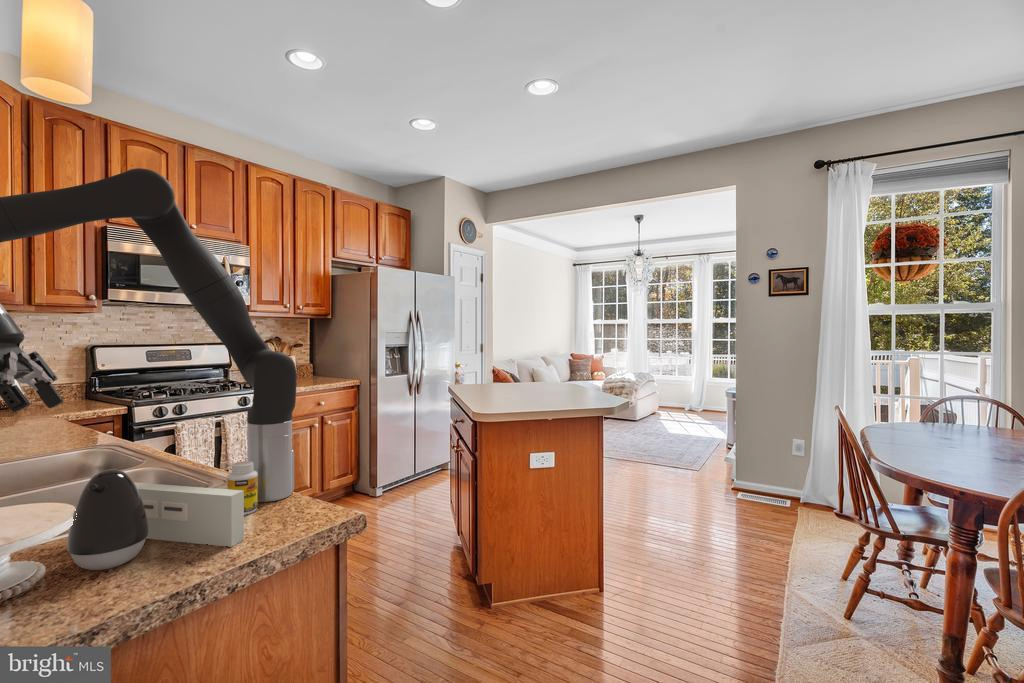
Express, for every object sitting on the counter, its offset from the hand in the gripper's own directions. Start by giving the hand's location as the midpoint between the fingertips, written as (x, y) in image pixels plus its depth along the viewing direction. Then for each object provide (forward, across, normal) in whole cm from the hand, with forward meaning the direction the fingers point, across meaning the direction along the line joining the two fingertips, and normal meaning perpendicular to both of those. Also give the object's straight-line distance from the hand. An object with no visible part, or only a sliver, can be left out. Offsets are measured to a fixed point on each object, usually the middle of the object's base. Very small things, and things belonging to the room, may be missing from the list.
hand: (40, 407), depth 81 cm
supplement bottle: (+34, +17, -9) cm, 40 cm away
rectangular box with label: (+30, +6, -2) cm, 31 cm away
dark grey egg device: (+28, -3, +4) cm, 28 cm away
